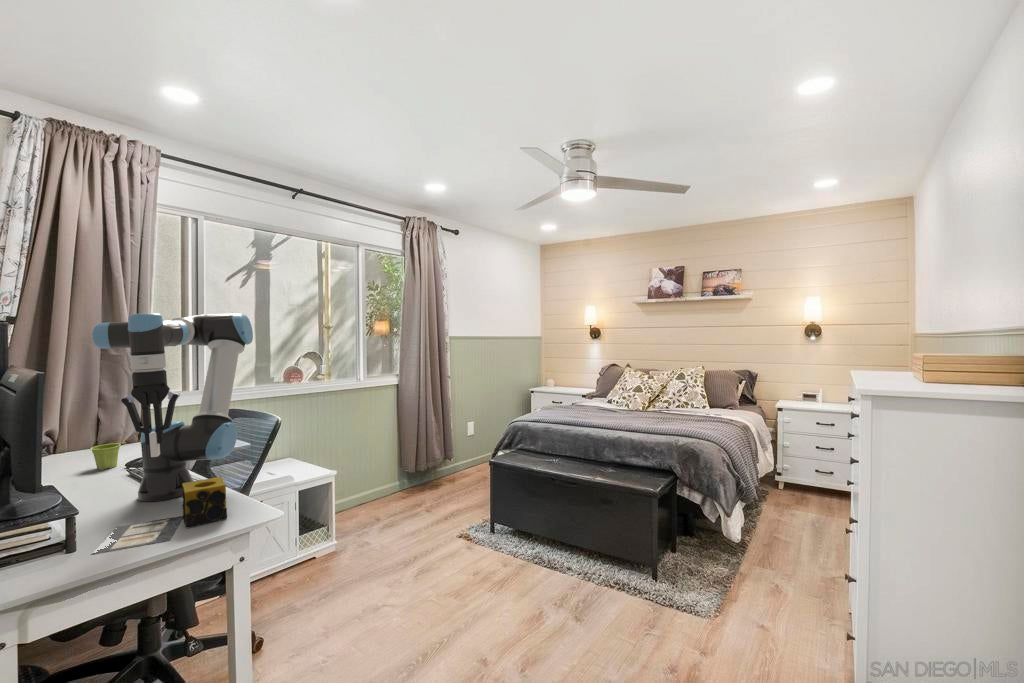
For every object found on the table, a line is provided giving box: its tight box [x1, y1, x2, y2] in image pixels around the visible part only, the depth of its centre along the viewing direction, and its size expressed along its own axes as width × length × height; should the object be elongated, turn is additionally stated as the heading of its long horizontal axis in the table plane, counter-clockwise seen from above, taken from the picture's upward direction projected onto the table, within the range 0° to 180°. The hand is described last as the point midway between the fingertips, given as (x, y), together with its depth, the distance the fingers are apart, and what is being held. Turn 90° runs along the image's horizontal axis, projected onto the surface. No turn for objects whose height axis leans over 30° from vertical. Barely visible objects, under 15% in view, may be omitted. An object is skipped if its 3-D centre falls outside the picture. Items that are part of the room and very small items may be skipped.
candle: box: [182, 476, 228, 529], centre depth 137 cm, size 10×10×10 cm
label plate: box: [96, 515, 184, 554], centre depth 129 cm, size 18×16×1 cm
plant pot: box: [90, 442, 121, 471], centre depth 195 cm, size 9×9×9 cm
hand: (155, 455), depth 133 cm, fingers closed
